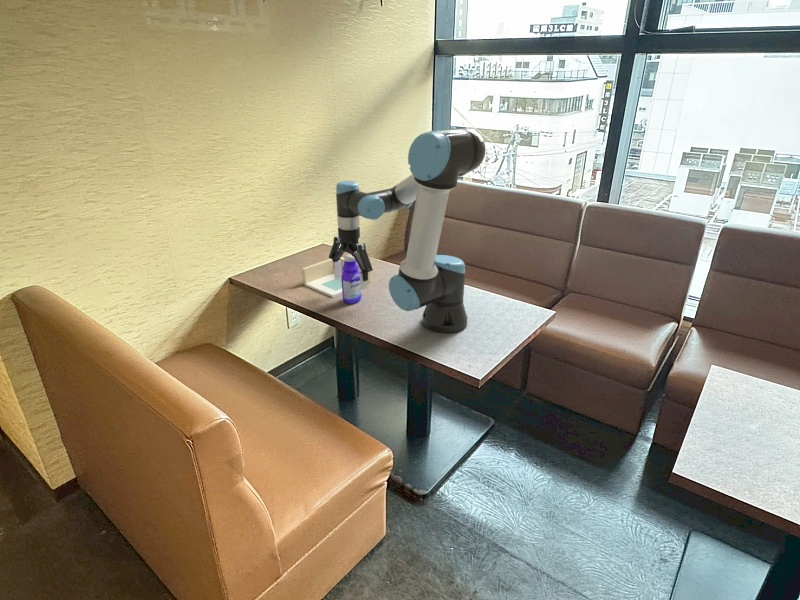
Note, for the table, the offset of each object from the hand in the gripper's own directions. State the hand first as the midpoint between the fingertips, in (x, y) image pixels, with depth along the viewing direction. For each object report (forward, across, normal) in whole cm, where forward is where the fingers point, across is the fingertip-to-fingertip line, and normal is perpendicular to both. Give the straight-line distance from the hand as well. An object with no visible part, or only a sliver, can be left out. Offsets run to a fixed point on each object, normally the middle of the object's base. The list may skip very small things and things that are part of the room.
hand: (350, 283), depth 183 cm
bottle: (+7, 0, 0) cm, 7 cm away
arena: (+7, +16, -6) cm, 18 cm away
